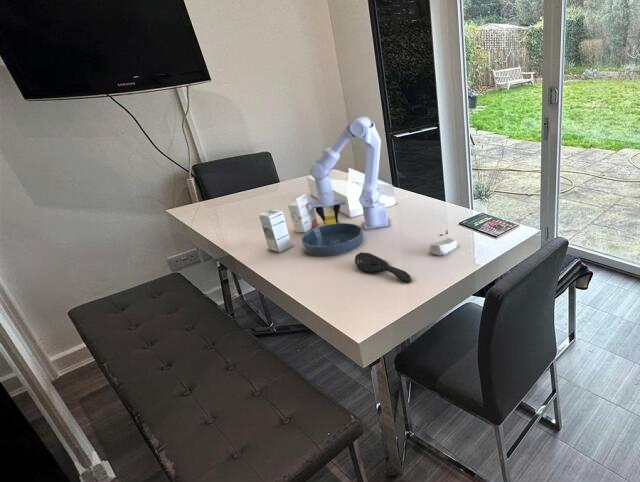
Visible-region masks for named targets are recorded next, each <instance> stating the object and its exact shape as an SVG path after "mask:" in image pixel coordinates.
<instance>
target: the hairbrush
mask: <svg viewBox="0 0 640 482" xmlns="http://www.w3.org/2000/svg"><path fill="white" fill-rule="evenodd" d="M354 263H355V265H356V266H357V269H359V270H360V271H362V272H364V273H366V274H377V273H378V274H379V273H382V272H389V273H391V274H393V275H394V276H395V277H396V279H398V280H401V281H402V282H404V283H411V282H412V277H411V275H410V274H409V273H408V272H406V271H405V270H403V269H401V268H397V267H395V266H392V265H389V263H388V262H387V261H386V260H384V259H383V258H382V257H380V256H378V255H375V254H373V253H371V252H366V251H364V252H358V253H357V252H356V253H355V256H354Z"/></svg>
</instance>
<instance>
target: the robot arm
mask: <svg viewBox="0 0 640 482" xmlns="http://www.w3.org/2000/svg"><path fill="white" fill-rule="evenodd" d="M354 138H357V139H359V140H361V141H362V142H363V143H364V144H365V145H366V153H365V167H364V168H365V170H364V174H365V180H364V186H363V189H362V194H361V195H360V197H359V202H360V204H361V205H362V208H363V214H362V215H363V219H364V222H363V223H364V225H363V226H364V227H363V228H364V229H365V230H369V229H377V228H383V227H388V226H389V216H388V213H387V207H386V206H385V203H380V201H379V197H380V190H379V184H378V180H379V171H380V169H379V168H380V159H381V158H380V157H381V145H382V140H381V136H380V134H379V132H378V130H377V128H376V124H375V122H374V121H373V120H371V119H370V117H368V116H365V115H364V116H363V115H361V116H359V117H357V118H356V119H354V120H352V121H350V122H349V124H348V125H346V127H345V128H344V129H343V130H342V131H341V133H340V135H339V136H338V138H337V139H336V141H335V142H334V143H333V145H332V146H331V147H326V149H323V150H322V151H321V156H320V157H319V158H317V159H316V160H315V162H316V163H315V164H313V165H311V167H310V170H309V172H310V176H311V177H314V179H315V184H316V189H317V193H318V198H319V199H318V198H317V199H318V201H315V202H313V203H309V204H308V209H312V208H314V209H315V213H316V214H317V215H318V216H319V217H320V219H321V220H322V222H323V225H325V222H324V220H325V215H326V214H325V211H324V208H328V207H330V208H331V207H332V206H334V207H332V209H333V214H335V220H336V223H339V213H340V211H339V210H340V205H347V202H346V199H344V200H334V196H333V191H332V186H331V180H330V179H331V177H330V174H331V172H332V169H333V168H334V167H335V165H336V164H337V162H338V161H339V160H340V159H341V153H340V152H341V151H342V150H343V149H344V148H345V146H346V145H347V144H348V143H349V142H350V141H351V139H354Z"/></svg>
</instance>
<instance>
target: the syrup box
mask: <svg viewBox="0 0 640 482" xmlns="http://www.w3.org/2000/svg"><path fill="white" fill-rule="evenodd" d="M258 217H259V220H260V224H261V227H262V229H263V230H262V231H263V233H264V238H265V241H266V243H267V247H268V250H269V251H273V252H277V253H281V252H284V251H285V250H287V249H290V248H291V247H292V242H291V238H290V234H289V231H288V227H287V223H286V218H285V216H284V211H282V210H278V209H269V210H265V211H263V212H261V213H259V214H258Z"/></svg>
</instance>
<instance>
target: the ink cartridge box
mask: <svg viewBox="0 0 640 482" xmlns="http://www.w3.org/2000/svg"><path fill="white" fill-rule="evenodd" d="M309 203H314V202H313V198H312V195H311V194H310V191H308V192H306V193H304V194H302V195H300V196H298V197H296V198H295V201H294V202H292V203H290V204H288V205H287V207H288V210H289V215H290V217H291V222H292V226H293V229H294V232H295V233H307V232H309V231H310V230H312V229H314V227H316V226H317V225H318V219H317V216H316V215H317V214H316V209H315V208H312V209H308V204H309Z"/></svg>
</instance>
